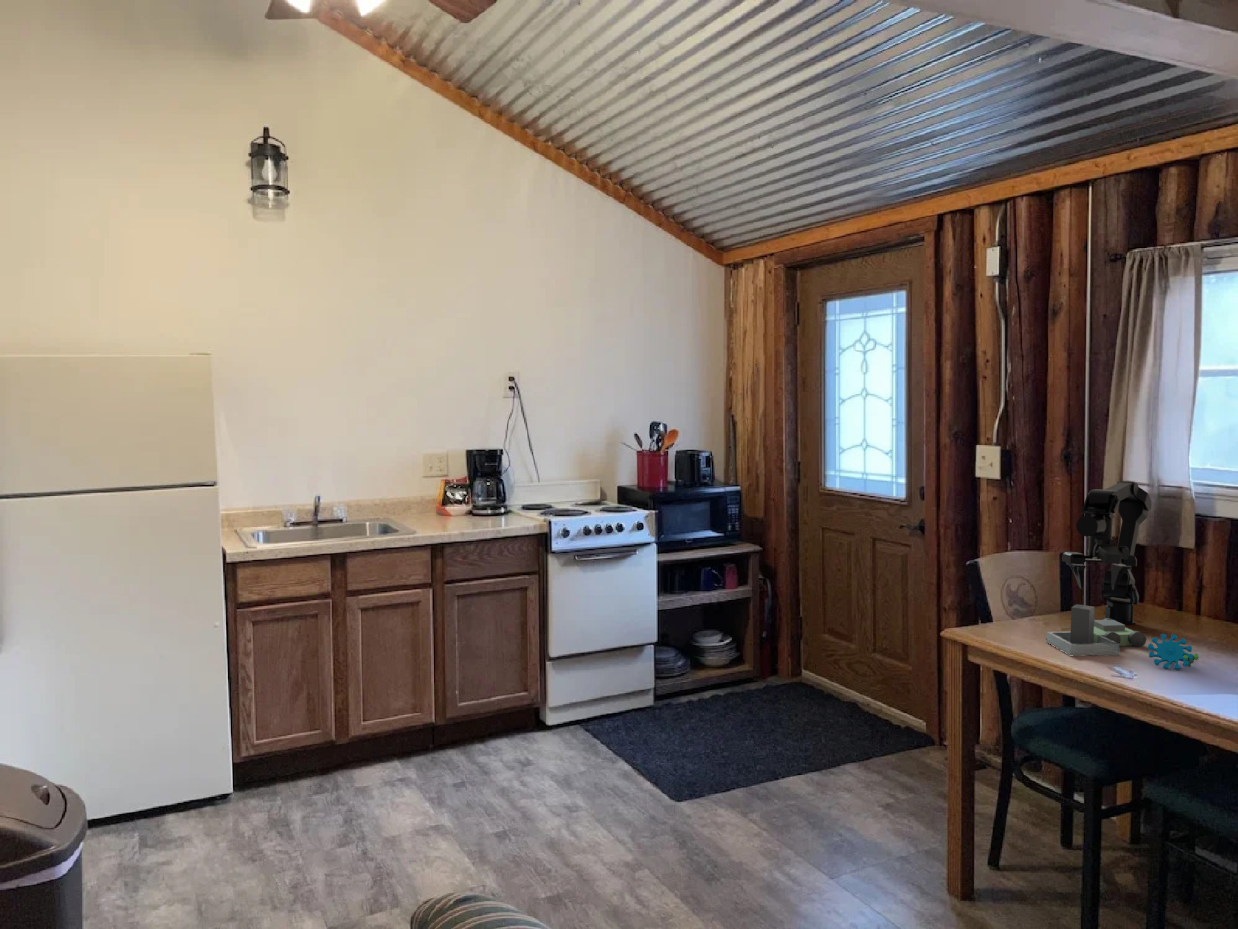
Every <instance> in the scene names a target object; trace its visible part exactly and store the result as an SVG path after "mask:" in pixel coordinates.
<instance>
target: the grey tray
mask: <svg viewBox="0 0 1238 929" xmlns="http://www.w3.org/2000/svg"><path fill="white" fill-rule="evenodd" d="M1070 636H1071V630H1069V631H1046V639H1045V640H1046V641H1045V643H1046V642H1047V644H1048V643H1049V644H1048V645H1050V644H1052V645H1054V646H1055V647H1057V648H1058V649H1060V650H1063V651H1064V652H1066V653H1067V654H1069V655H1073V656H1072V657H1082V656H1081V655H1109V656H1119V655H1120V646H1121V645H1120V644H1118V643H1116V642H1114V641H1112V640H1110V639H1108V638H1106V637H1104V636H1102V635H1099V636H1098V643H1092V644H1072V643H1070ZM1055 647H1054V648H1055ZM1057 648H1056V649H1057ZM1058 649H1057V650H1058ZM1060 650H1059V651H1060ZM1064 652H1063V653H1064ZM1067 654H1066V655H1067ZM1069 655H1068V656H1069Z"/></svg>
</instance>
